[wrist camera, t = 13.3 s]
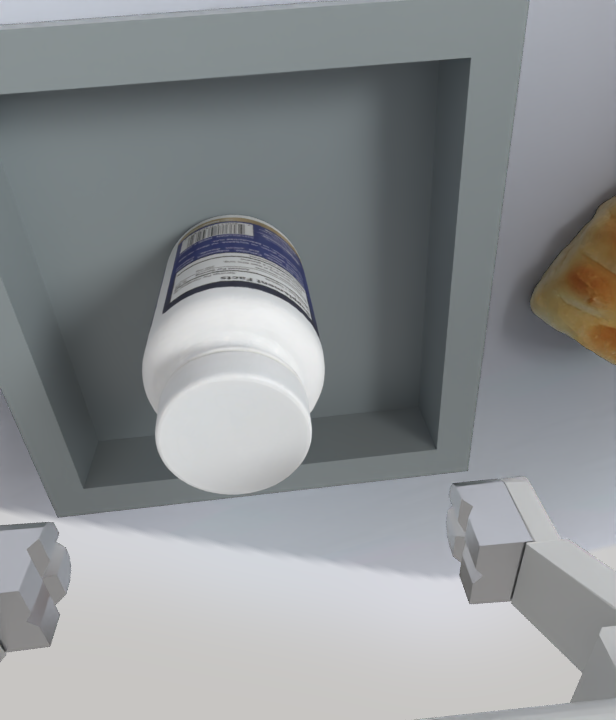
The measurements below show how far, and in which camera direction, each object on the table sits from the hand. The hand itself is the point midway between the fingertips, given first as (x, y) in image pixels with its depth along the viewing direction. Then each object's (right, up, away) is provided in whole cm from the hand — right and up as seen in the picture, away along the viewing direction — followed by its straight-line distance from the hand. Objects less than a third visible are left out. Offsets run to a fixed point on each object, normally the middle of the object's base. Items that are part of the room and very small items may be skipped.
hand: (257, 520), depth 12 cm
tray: (-2, +7, +12) cm, 14 cm away
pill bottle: (-2, +7, +11) cm, 13 cm away
